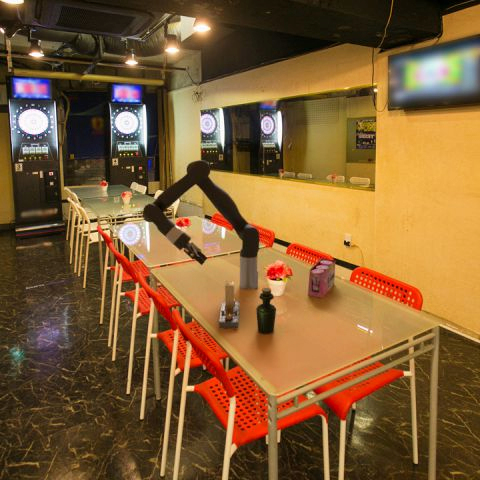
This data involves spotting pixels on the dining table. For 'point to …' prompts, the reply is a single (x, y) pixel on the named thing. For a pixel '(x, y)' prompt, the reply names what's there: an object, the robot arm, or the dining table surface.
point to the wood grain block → (229, 297)
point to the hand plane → (229, 317)
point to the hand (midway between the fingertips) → (204, 261)
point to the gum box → (321, 278)
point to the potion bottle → (266, 312)
